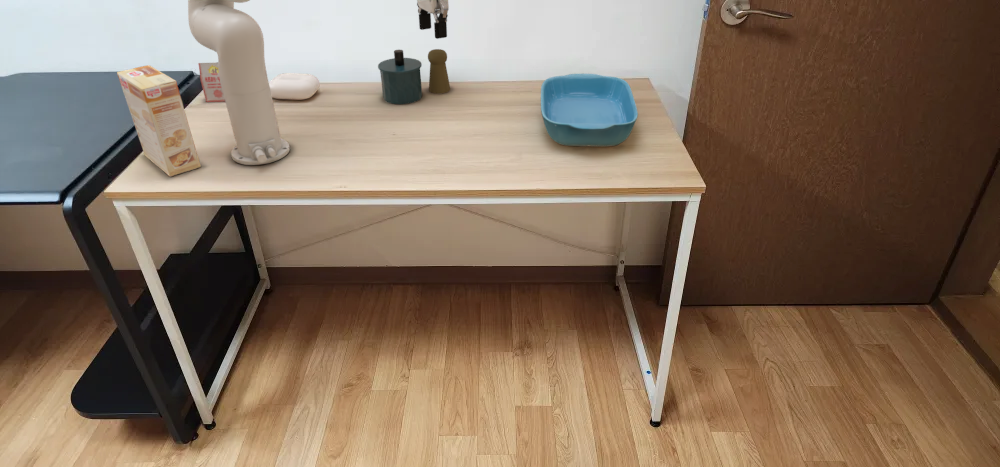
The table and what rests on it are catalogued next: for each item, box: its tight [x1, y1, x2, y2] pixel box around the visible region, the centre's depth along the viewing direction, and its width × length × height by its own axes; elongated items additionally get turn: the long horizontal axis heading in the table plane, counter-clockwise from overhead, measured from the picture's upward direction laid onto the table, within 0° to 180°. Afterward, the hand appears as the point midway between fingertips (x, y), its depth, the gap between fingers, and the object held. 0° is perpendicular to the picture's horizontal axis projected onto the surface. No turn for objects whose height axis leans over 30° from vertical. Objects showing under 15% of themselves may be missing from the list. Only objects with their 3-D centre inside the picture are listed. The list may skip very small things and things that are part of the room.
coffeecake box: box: [116, 64, 202, 177], centre depth 137 cm, size 15×7×20 cm, turn 44°
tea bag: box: [197, 62, 225, 103], centre depth 171 cm, size 4×7×10 cm, turn 95°
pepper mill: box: [427, 48, 451, 95], centre depth 175 cm, size 6×6×11 cm
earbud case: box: [268, 72, 321, 101], centre depth 174 cm, size 10×13×5 cm
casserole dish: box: [540, 73, 639, 147], centre depth 156 cm, size 37×22×7 cm, turn 177°
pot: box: [379, 68, 423, 105], centre depth 172 cm, size 10×10×8 cm
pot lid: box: [377, 49, 422, 74], centre depth 168 cm, size 11×11×5 cm
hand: (433, 33), depth 169 cm, fingers open, 9 cm apart
